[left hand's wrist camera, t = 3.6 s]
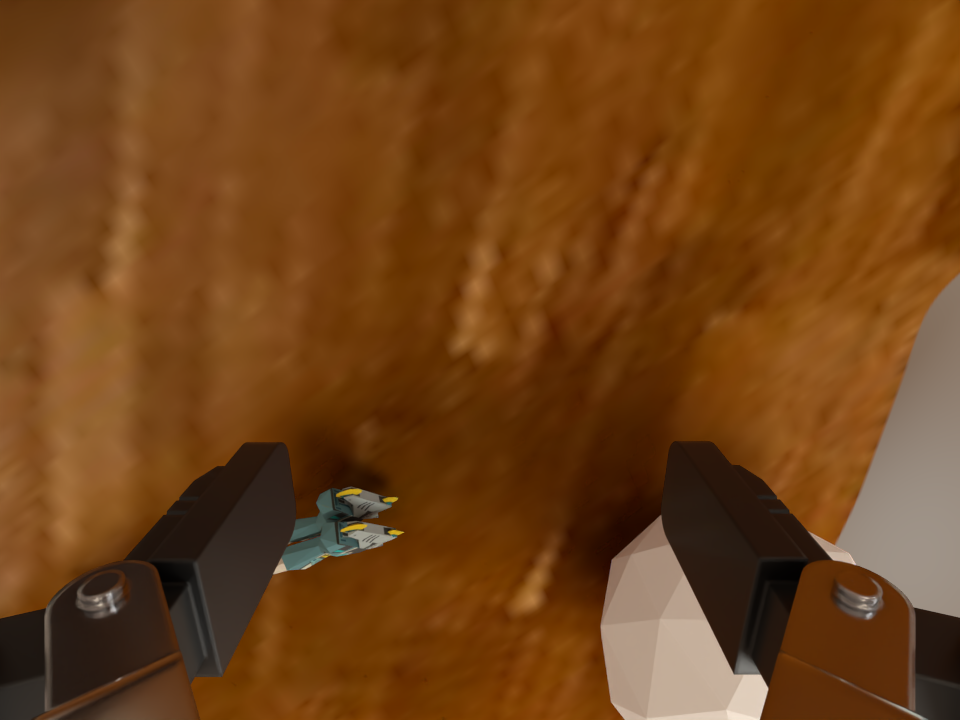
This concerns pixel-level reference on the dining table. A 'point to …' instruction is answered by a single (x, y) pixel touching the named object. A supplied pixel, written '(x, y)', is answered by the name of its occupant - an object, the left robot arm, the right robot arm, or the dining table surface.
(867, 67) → the dining table surface
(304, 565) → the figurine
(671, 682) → the sphere
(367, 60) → the dining table surface
